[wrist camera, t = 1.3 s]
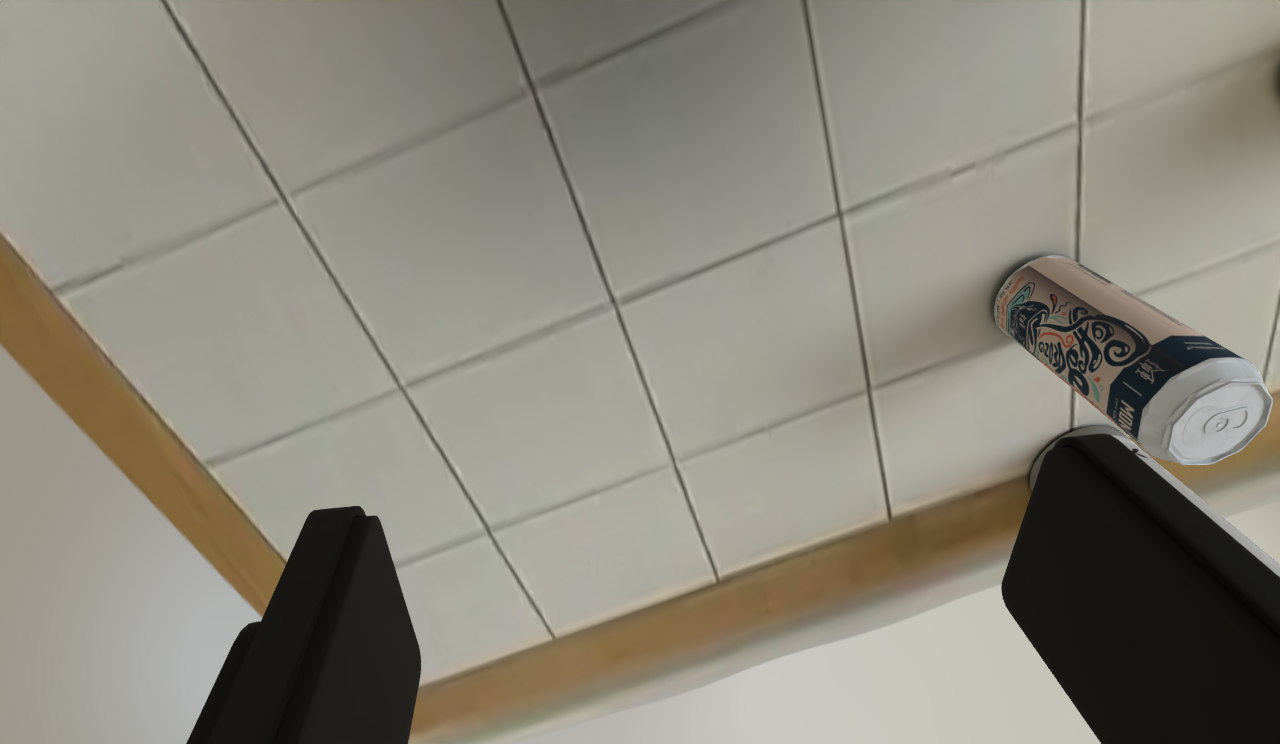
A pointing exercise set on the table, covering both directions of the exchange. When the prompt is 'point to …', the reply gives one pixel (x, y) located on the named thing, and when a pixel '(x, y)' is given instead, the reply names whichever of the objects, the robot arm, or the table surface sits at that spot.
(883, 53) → the table surface
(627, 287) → the table surface
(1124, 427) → the beer can
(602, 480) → the table surface
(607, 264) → the table surface
